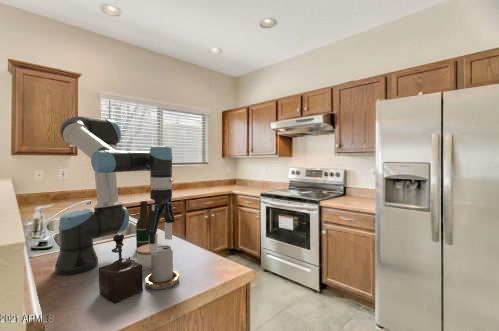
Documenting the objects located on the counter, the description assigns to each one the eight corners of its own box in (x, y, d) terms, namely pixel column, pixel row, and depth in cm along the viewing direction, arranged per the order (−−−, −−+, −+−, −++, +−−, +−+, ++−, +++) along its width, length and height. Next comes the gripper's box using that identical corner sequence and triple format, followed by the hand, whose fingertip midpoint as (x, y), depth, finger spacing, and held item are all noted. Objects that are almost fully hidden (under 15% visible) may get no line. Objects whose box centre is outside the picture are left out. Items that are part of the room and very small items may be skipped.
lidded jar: (168, 265, 112) (168, 243, 112) (144, 273, 104) (143, 250, 104) (156, 258, 119) (156, 238, 119) (132, 265, 112) (132, 244, 111)
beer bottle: (147, 245, 137) (146, 199, 136) (156, 248, 133) (155, 201, 132) (133, 249, 131) (132, 201, 130) (141, 252, 126) (141, 203, 125)
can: (177, 278, 98) (176, 246, 97) (159, 286, 92) (159, 252, 91) (165, 273, 102) (164, 242, 102) (147, 280, 96) (147, 248, 96)
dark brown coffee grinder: (145, 290, 92) (144, 239, 91) (113, 304, 83) (112, 248, 82) (122, 277, 101) (121, 231, 100) (91, 289, 92) (90, 239, 91)
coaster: (139, 289, 92) (139, 284, 92) (154, 274, 103) (154, 269, 103) (172, 290, 91) (171, 285, 91) (182, 275, 103) (182, 270, 102)
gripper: (156, 194, 83) (156, 259, 84) (182, 184, 108) (182, 235, 109) (133, 193, 84) (134, 258, 85) (164, 183, 108) (164, 234, 110)
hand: (161, 245), depth 97 cm, fingers open, 13 cm apart
